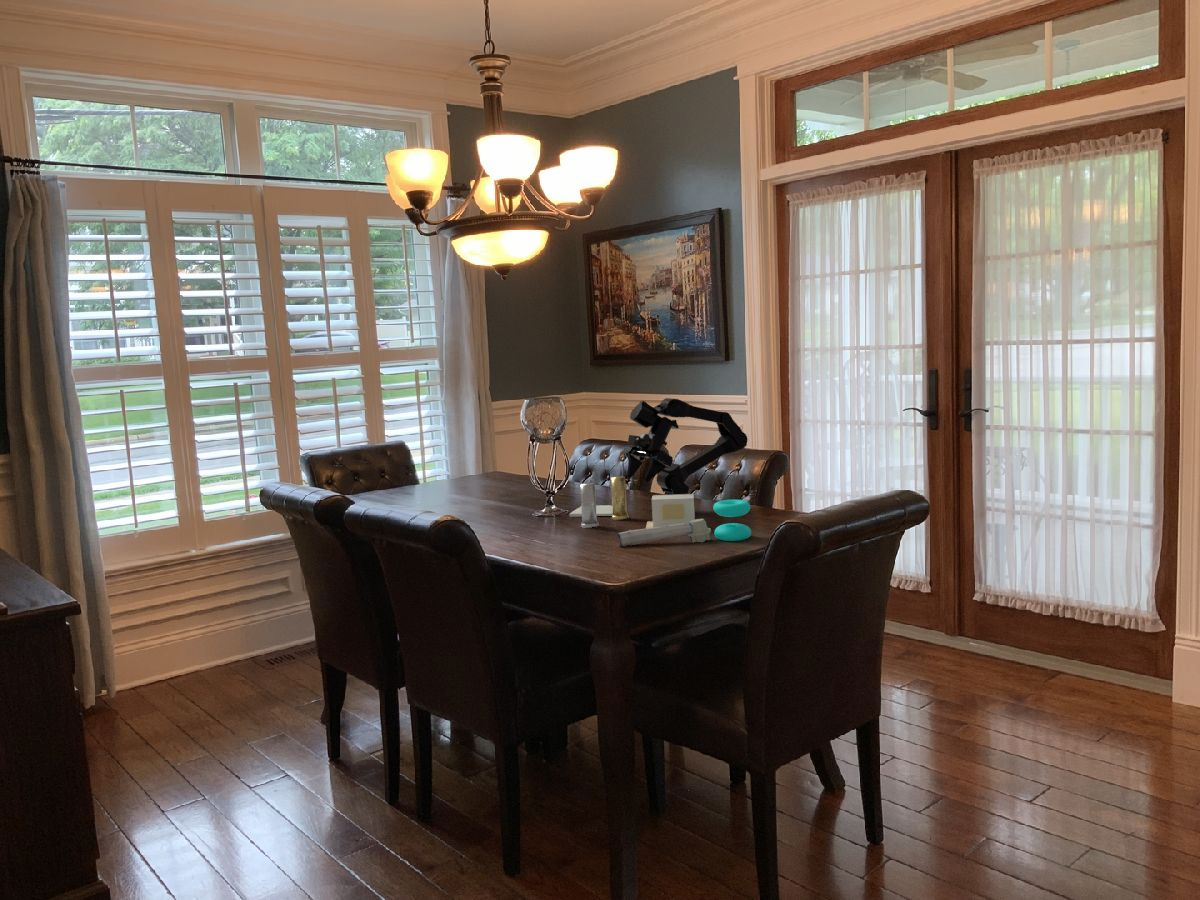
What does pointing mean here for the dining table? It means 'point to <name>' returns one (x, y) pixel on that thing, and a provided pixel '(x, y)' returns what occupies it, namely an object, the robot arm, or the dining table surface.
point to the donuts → (732, 529)
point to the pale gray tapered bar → (666, 533)
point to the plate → (600, 511)
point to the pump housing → (671, 510)
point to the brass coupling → (619, 498)
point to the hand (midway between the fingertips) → (636, 480)
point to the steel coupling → (588, 505)
